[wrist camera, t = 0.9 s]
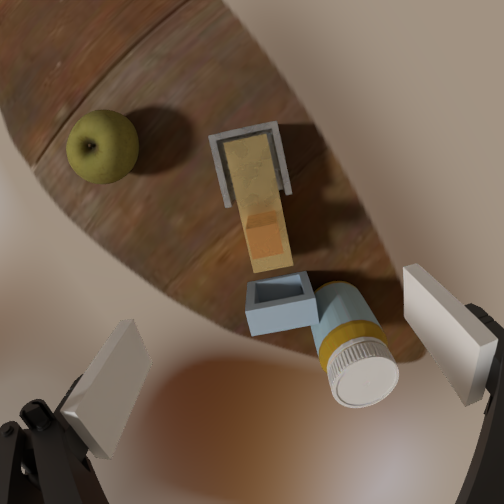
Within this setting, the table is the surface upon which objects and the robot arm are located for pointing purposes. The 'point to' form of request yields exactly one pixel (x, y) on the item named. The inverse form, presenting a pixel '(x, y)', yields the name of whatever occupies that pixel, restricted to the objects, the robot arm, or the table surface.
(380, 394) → the bottle
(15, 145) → the table surface
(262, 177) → the yellow orange l-shaped block
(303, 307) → the socket block
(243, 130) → the sleeve
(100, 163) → the apple
